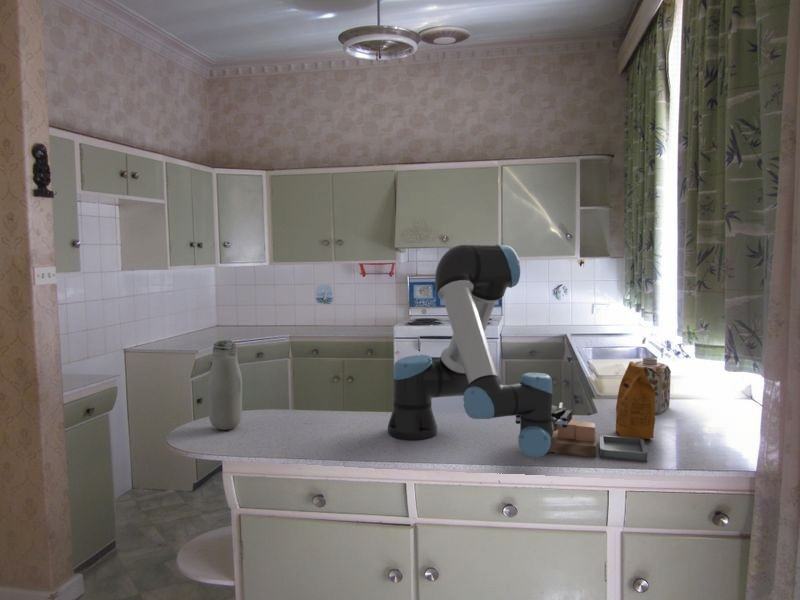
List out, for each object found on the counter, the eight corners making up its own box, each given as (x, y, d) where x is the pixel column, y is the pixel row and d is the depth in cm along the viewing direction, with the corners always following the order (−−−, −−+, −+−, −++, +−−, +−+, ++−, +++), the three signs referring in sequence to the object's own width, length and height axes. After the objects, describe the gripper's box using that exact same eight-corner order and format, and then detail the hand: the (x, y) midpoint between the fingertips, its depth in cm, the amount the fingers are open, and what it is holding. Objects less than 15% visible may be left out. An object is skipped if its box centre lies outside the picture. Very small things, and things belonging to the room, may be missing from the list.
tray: (599, 457, 174) (600, 449, 174) (599, 442, 187) (599, 434, 187) (647, 461, 170) (647, 453, 170) (643, 445, 184) (643, 438, 184)
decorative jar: (626, 409, 225) (627, 358, 224) (636, 402, 234) (638, 354, 233) (661, 414, 218) (663, 362, 216) (670, 407, 227) (672, 357, 226)
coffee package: (643, 429, 200) (645, 360, 198) (657, 442, 187) (660, 368, 186) (611, 429, 200) (613, 360, 198) (623, 441, 188) (625, 367, 186)
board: (543, 452, 178) (543, 441, 178) (547, 437, 192) (547, 427, 191) (596, 456, 174) (596, 446, 174) (595, 441, 187) (596, 431, 187)
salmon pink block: (557, 437, 182) (558, 423, 181) (558, 432, 186) (559, 419, 186) (575, 439, 180) (576, 425, 180) (576, 434, 185) (576, 420, 185)
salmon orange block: (575, 439, 180) (576, 425, 179) (576, 434, 184) (576, 421, 184) (594, 441, 178) (594, 427, 178) (594, 436, 183) (595, 422, 182)
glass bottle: (205, 433, 195) (203, 343, 193) (216, 424, 206) (213, 338, 203) (237, 433, 195) (235, 343, 193) (246, 424, 205) (244, 338, 203)
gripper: (498, 437, 169) (509, 415, 190) (580, 444, 162) (582, 421, 184) (499, 409, 168) (510, 390, 190) (581, 415, 162) (583, 395, 184)
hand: (545, 406), depth 187 cm, fingers closed on ceramic mug, 8 cm apart
